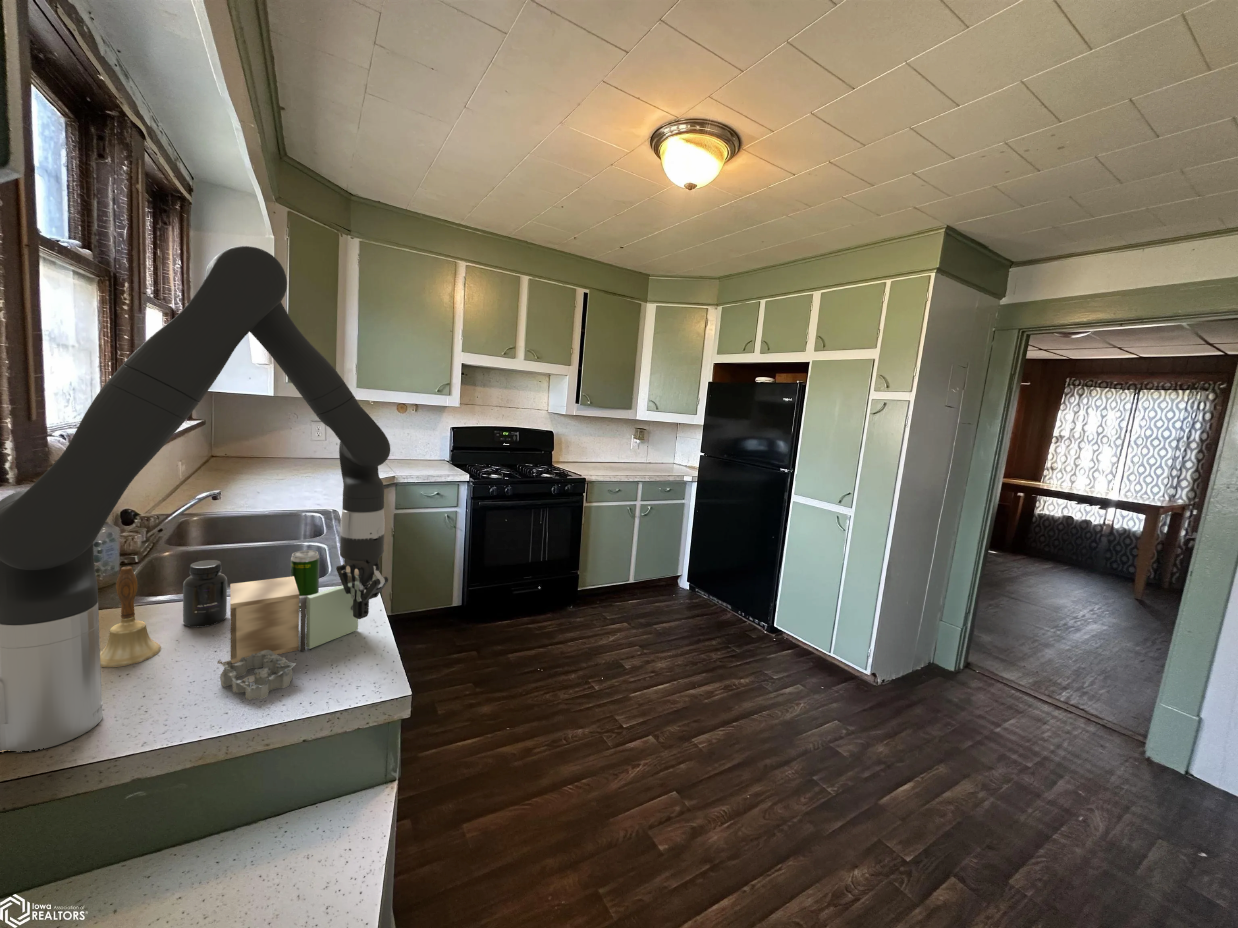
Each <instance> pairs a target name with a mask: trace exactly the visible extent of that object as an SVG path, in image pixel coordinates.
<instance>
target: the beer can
mask: <svg viewBox="0 0 1238 928" xmlns="http://www.w3.org/2000/svg"><path fill="white" fill-rule="evenodd" d="M292 576H294V578H295V581H296V585H297V588H298V591H299V609H301V597H303V596H305V597H306V601H307V596H310V595H313V594H316V593H320V590H319V587H320V586H319V585H320V582H319V581H320V555H319V552H318V550H317V551H316V550H313V549H309V550H308V549H307V550H306V549H305V550H299V551H295V552H292V554H291V558H290V577H292Z"/></svg>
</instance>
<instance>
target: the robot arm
mask: <svg viewBox="0 0 1238 928" xmlns="http://www.w3.org/2000/svg"><path fill="white" fill-rule="evenodd" d="M204 277H205V278H204V280H203V282H202V283H201V285H200V286H199V288H198V289H197V291H196V292H195V294H194V295H193V297H192V298H191V299H190V301H189V302H188V303H187V304H186V306H185V307H184V308H183V309H182V310H181V311H180V312H178V314H176V316H175V317H173V319H171V320H170V321H168V322H167V323H166V324H165V325H164V326H162V327H161V328H160V329H158V330H157V331H156V332H155V333H153V335H151V336H150V337H149V338H148V339H147V340H145V341H144V342H143V343H141V345H140V346H139V347H138V348H137V349H136V350H135V351H134V352H132V354H131V355H129V357H128V358H127V359H126V360H125V361H124V362H122V364H121V365H120V367H118V369H117V370H116V371H115V372H114V374H113V375H112V376H111V377H110V378H109V379H108V380H107V382H106V383H105V384H104V385H103V386H102V387H101V389H100V391H99V392H98V393H97V394H96V396H95V398H94V399H93V401H91V404H90V405H89V406H88V408H87V410H86V411H85V413H84V415H83V417H82V418H81V420H80V423H79V424H78V426H77V427H76V430H75V431H74V434H73V436H72V438H71V440H69V443H68V444H67V446H66V448H65V449H64V451H63V452H62V454H61V455H60V456H59V457H58V458H57V460H56V461H55V462H54V463H53V464H52V465H51V466H50V467H49V468H48V469H47V470H46V471H45V472H44V473H43V474H42V475H41V476H40V477H39V478H38V479H37V480H36V481H35V482H34V483H33V484H32V485H31V486H30V487H29V488H26V489H21V490H18V491H16V492H13V493H11V494H9V495H7V496H5V497H3V498H2V499H0V751H2V750H10V751H17V752H16V753H23V752H22V751H29V752H32V751H31V750H35V751H39V750H38V749H40V750H44V749H48V748H52V747H55V746H58V745H61V744H64V743H66V742H69V741H71V740H75V738H77V737H80V736H81V735H84V734H86V733H87V732H89V731H91V730H92V729H94V728H95V727H96V726H97V725H98V724H99V723H100V722H101V721H102V719H103V693H102V688H103V687H102V686H103V685H102V667H101V661H100V652H101V644H100V643H101V641H100V637H101V636H100V619H99V615H100V613H99V592H98V591H99V588H98V587H99V586H98V581H97V573H96V566H95V558H94V557H95V555H94V542H95V540H96V539H97V538H98V535H99V534H100V532H101V531H102V529H103V528H104V525H105V524H106V522H107V520H108V519H109V517H110V515H111V514H112V512H113V511H114V509H115V507H116V506H117V505H118V502H119V501H120V500H121V498H122V496H123V495H124V493H125V492H126V490H127V489H128V488H129V486H130V485H131V483H132V482H133V480H134V479H135V478H136V476H138V475H139V473H140V472H141V471H142V470H143V469H144V468H145V467H146V466H147V465H148V464H149V463H150V462H151V460H153V458H155V456H156V455H157V454H158V453H159V452H160V451H161V450H162V448H164V446H165V445H166V443H168V441H170V439H171V438H172V437H173V436H174V435H175V434H176V432H178V430H179V428H181V427H182V426H183V424H184V423H185V422H186V420H187V419H188V417H190V415H191V414H192V413H193V412H194V410H195V409H196V408H197V406H198V405H199V403H201V401H202V400H203V399H204V397H205V395H206V394H207V393H208V391H209V390H210V389H211V387H212V386H213V384H214V383H215V381H216V380H217V379H218V376H219V375H220V373H221V372H222V371H223V370H224V368H225V366H226V364H227V363H228V361H229V359H230V358H231V356H232V355H233V353H234V352H235V350H236V349H237V347H239V344H240V343H241V342H242V340H243V339H244V338H245V337H246V336H247V335H248V334H249V333H250V334H251V335H252V336H253V337H254V338H255V340H257V342H259V344H260V345H261V346H262V347H263V348H264V349H265V350H266V352H267V353H268V355H270V356H271V357H272V359H273V360H274V361H275V363H276V364H277V366H279V368H280V369H281V370H282V372H283V373H284V375H286V377H287V379H288V380H289V381H290V383H291V384H292V385H293V386H294V387H295V389H296V390H297V392H298V393H299V394H300V396H301V397H302V398H303V400H304V401H305V402H306V405H308V407H309V408H310V409H311V410H312V412H313V413H314V414H315V415H316V417H317V418H318V419H319V420H320V422H321V423H322V424H324V425H325V427H327V428H328V429H330V430H331V431H332V432H333V433H334V434H335V436H336V438H337V439H338V440H339V446H338V455H339V457H338V458H339V463H340V464H339V465H340V472H341V476H342V477H341V478H342V484H343V485H342V487H343V488H342V489H343V490H342V508H341V509H342V513H341V516H340V534H339V535H340V536H339V537H340V540H339V542H340V544H339V555H340V557H341V558H342V559H343V560H344V561H343V562H344V563H343V564H340V565H336V567H335V568H336V569H335V570H336V573H337V575H338V577H339V580H340V581H341V584H342V585H341V586H343V587H344V590H345V592H346V594H349V593H350V594H351V598H352V599H353V617H355V618H357V619H358V620H361V619H364V618H366V617H368V616H369V612H370V611H369V610H370V608H369V607H370V600H372V599H376V598H378V596H379V595H380V594H381V592H382V591H383V590H384V588H385V586H387V584H388V583H389V578H388V577H387V576H383V575H382V574H381V573H380V570H381V565H380V558H381V557H382V556H383V555H384V552H385V530H386V529H385V528H386V526H385V525H386V524H385V523H386V520H385V519H386V517H385V512H384V511H385V509H384V507H385V486H384V485H385V484H384V482H383V480H382V479H381V477H380V474H379V466H381V465H383V464H384V463H386V462H387V460H388V459H389V457H390V454H391V444H390V443H391V442H390V441H389V439H388V437H387V435H386V434H385V432H384V431H383V430H382V428H381V427H380V426H379V424H377V423H376V421H375V420H374V419H373V418H372V417H371V416H370V414H368V413H367V411H366V410H365V409H364V408H363V407H362V406H361V405H360V403H359V402H358V400H357V398H356V396H354V394H353V392H352V390H351V389H350V388H349V386H348V385H347V384H346V382H345V381H344V379H343V378H342V376H341V375H340V374H339V373H338V371H337V370H336V368H335V367H334V366H333V365H332V364H331V363H330V362H329V360H328V359H327V358H326V357H324V356H323V354H321V352H319V350H318V349H316V348H315V346H313V344H312V343H311V342H310V341H309V340H308V339H307V338H306V337H305V336H304V334H303V333H302V332H301V331H300V329H298V327H297V325H296V324H295V323H294V322H293V320H292V319H291V317H290V315H289V314H288V312H287V311H286V309H285V307H284V304H283V303H282V300H283V299H284V297H285V295H286V293H287V289H288V288H287V287H288V278H287V275H286V272H285V269H284V267H283V266H282V264H281V263H280V261H279V260H278V258H276V257H275V256H274V255H273V254H271V253H269V252H268V251H267V250H264V249H262V248H259V247H256V246H247V245H239V246H232V247H228V248H227V249H224V250H222V251H221V252H219V253H218V254H217V255H216V256H214V257H213V259H211V260H210V262H209V263H208V265H207V266H206V270H205V276H204ZM43 748H44V749H43ZM18 751H19V752H18ZM20 751H21V752H20Z"/></svg>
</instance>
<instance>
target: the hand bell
mask: <svg viewBox="0 0 1238 928" xmlns="http://www.w3.org/2000/svg"><path fill="white" fill-rule="evenodd" d="M115 585H116V586H115V587H116V588H115V589H116V595H117V597H118V599H119V601H120V604H121V605H120V606H121V607H120V608H121V611H120V618H121V621H120V622H119V623H117V624H115V625H113V626H112V627H111V628H110V630H109V633H108V634H109V635H108V636H109V637H108V639H107V642H106V645H105V647H104V648H103V649H102V650H101V651H100V661H101V668H117V667H119V668H120V667H125V666H131V665H134V664H138V663H140V662H144V661H147V660H149V659H151V658H153V657H155V656H156V655H157V654H159V653H160V652H161V650H162V646H161V644H159V642H157V641H154V640H153V639H152V638H151V637H150V635H149V632H148V628H147V624H146V622H144V621H142V620H137V619H136V616H135V615H136V613H135V598H136V595H137V591H138V579H137V577H136V574H135V572H134V570H133V567H132V566H123V567H121V568H120V572H119V575H118V577H117V579H116V583H115Z"/></svg>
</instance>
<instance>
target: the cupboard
mask: <svg viewBox="0 0 1238 928" xmlns="http://www.w3.org/2000/svg"><path fill="white" fill-rule="evenodd" d="M229 586H230V589H229V590H230V592H229V593H230V599H229V602H230V604H229V605H230V610H229V611H230V619H229V620H230V660H231V662H232V663H233V664H236V663H239V662H240V659H241V658H242V657H245V658H247V657H249V656H251V655H252V654H256V653H259V652H261V651H264V650H271V651H272V652H273V653H274V654H276V655H281V654H285V653H290V652H291V653H292V652H296V651H299V650H300V652H305V651H306V597H305V596H303V597H301V610H299V591H298V588H297V585H296V581H295V578H294V576H292V577H291V576H286V577H277V578H268V579H262V580H261V579H260V580H252V581H245V582H236V583H230V585H229ZM299 625H300V626H299ZM299 633H300V635H299ZM299 640H300V641H299Z"/></svg>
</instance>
